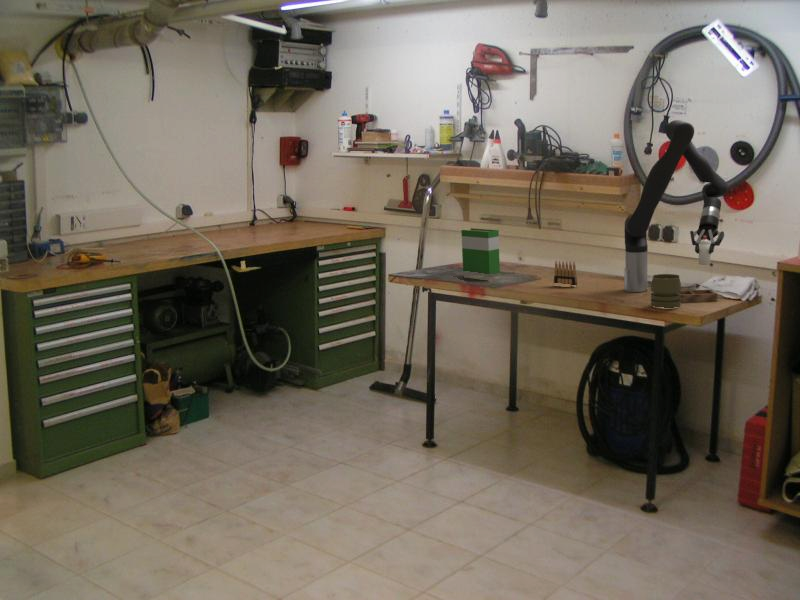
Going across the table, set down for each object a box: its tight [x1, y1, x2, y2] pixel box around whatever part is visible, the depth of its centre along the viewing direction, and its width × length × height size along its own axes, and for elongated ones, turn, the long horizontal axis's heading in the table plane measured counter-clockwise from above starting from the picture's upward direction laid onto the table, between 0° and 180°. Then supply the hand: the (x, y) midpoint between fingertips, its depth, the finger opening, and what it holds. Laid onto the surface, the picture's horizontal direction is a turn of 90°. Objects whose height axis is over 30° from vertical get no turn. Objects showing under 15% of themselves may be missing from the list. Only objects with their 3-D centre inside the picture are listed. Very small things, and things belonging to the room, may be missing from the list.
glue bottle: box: [698, 236, 711, 266], centre depth 356 cm, size 5×5×12 cm
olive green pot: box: [650, 273, 682, 308], centre depth 340 cm, size 11×12×11 cm
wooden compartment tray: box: [678, 289, 718, 303], centre depth 350 cm, size 17×9×3 cm, turn 86°
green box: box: [460, 227, 501, 274], centre depth 421 cm, size 18×7×24 cm, turn 42°
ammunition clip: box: [553, 260, 578, 286], centre depth 390 cm, size 11×2×12 cm, turn 54°
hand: (703, 252), depth 355 cm, fingers closed on glue bottle, 4 cm apart
